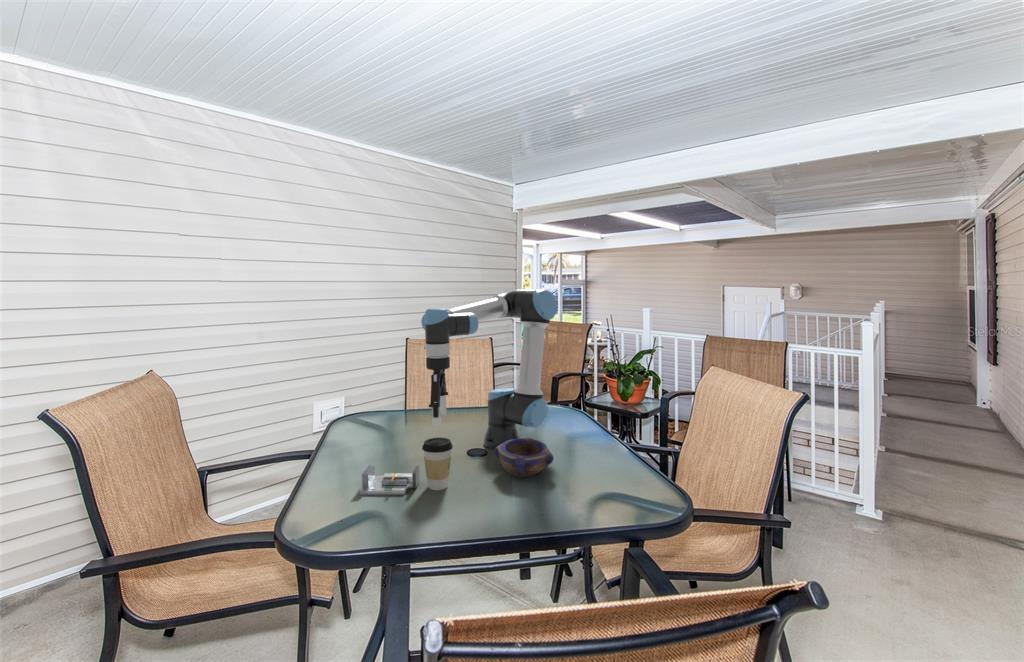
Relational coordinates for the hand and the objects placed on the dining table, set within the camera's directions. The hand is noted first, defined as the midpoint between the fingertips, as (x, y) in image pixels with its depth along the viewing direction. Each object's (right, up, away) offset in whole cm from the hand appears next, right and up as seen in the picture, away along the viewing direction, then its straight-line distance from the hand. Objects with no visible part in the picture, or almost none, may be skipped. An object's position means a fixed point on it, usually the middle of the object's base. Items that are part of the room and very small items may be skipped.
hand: (439, 420), depth 150 cm
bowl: (+28, -21, +11) cm, 36 cm away
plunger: (-13, -21, -1) cm, 24 cm away
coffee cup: (-1, -22, 0) cm, 22 cm away
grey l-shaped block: (-17, -22, 0) cm, 27 cm away
